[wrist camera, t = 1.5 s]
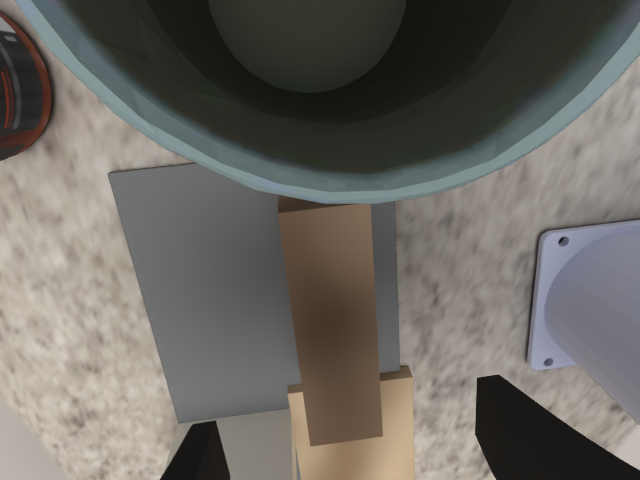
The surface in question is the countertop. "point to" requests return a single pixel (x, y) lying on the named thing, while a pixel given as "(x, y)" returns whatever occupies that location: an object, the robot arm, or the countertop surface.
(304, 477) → the trivet
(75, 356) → the countertop surface
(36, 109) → the supplement bottle
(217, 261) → the mat
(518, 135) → the teal textured planter
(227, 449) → the tile
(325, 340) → the brown rectangular block
